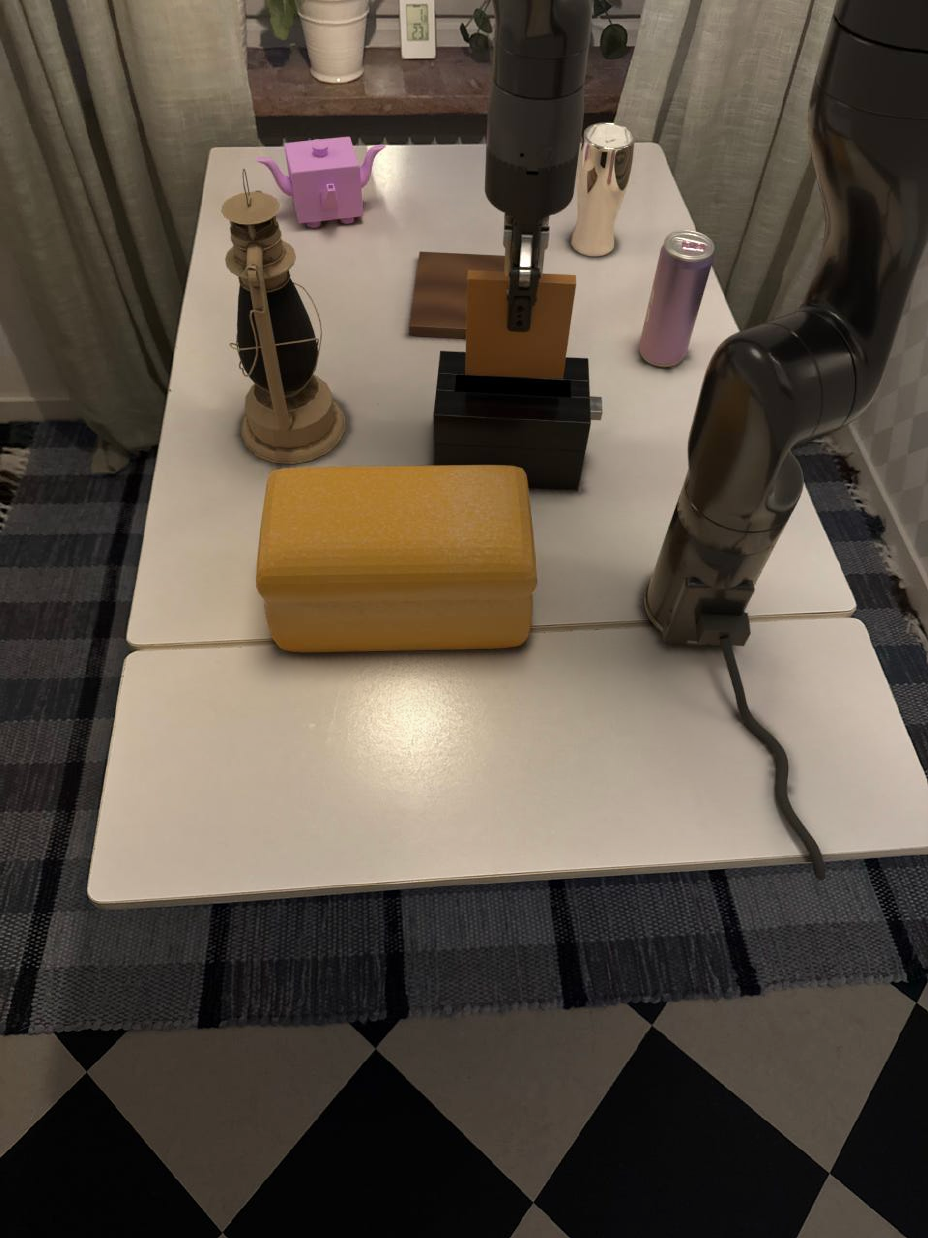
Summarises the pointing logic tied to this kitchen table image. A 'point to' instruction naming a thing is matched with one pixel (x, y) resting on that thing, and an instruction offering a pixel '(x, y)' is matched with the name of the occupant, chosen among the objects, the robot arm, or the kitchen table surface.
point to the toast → (517, 351)
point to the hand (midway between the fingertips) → (518, 322)
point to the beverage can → (676, 297)
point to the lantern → (276, 341)
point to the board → (445, 292)
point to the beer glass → (601, 185)
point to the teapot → (324, 179)
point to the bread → (397, 558)
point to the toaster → (515, 421)
